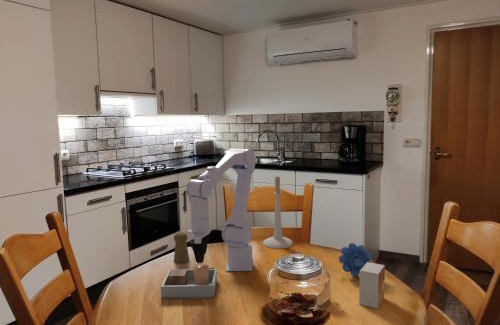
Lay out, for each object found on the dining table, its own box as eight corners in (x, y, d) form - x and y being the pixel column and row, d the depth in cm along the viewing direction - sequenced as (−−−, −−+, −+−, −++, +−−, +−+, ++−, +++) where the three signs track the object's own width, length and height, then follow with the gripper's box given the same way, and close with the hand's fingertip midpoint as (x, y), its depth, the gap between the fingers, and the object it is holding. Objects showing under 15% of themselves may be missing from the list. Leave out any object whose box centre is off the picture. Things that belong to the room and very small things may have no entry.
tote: (217, 280, 134) (216, 268, 134) (213, 297, 121) (213, 285, 121) (169, 280, 134) (169, 269, 134) (161, 298, 121) (160, 286, 121)
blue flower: (342, 282, 131) (342, 247, 129) (336, 274, 137) (337, 241, 136) (376, 281, 131) (377, 246, 130) (369, 273, 138) (370, 240, 136)
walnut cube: (187, 284, 130) (186, 269, 129) (185, 290, 125) (184, 275, 125) (172, 284, 130) (171, 269, 129) (169, 291, 125) (168, 276, 125)
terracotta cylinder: (210, 283, 130) (209, 263, 129) (207, 290, 125) (207, 269, 124) (195, 283, 130) (194, 263, 129) (193, 290, 125) (192, 269, 125)
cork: (191, 257, 156) (190, 230, 154) (187, 263, 150) (186, 235, 148) (176, 257, 156) (175, 230, 155) (171, 263, 150) (170, 235, 149)
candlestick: (278, 237, 180) (277, 172, 176) (298, 243, 170) (298, 175, 167) (257, 243, 172) (256, 175, 168) (277, 250, 162) (277, 179, 158)
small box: (377, 309, 113) (378, 274, 111) (358, 304, 116) (359, 270, 114) (384, 298, 119) (385, 264, 118) (366, 293, 122) (366, 261, 121)
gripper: (190, 211, 132) (192, 250, 134) (183, 223, 118) (185, 266, 119) (211, 211, 132) (212, 250, 134) (207, 223, 118) (208, 266, 119)
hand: (201, 258), depth 126 cm, fingers open, 7 cm apart
